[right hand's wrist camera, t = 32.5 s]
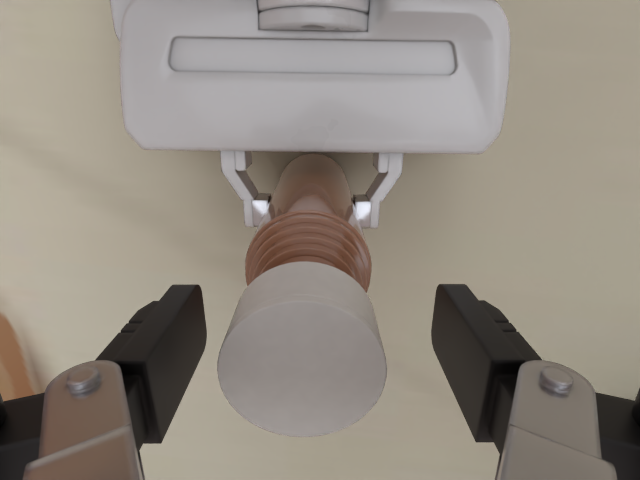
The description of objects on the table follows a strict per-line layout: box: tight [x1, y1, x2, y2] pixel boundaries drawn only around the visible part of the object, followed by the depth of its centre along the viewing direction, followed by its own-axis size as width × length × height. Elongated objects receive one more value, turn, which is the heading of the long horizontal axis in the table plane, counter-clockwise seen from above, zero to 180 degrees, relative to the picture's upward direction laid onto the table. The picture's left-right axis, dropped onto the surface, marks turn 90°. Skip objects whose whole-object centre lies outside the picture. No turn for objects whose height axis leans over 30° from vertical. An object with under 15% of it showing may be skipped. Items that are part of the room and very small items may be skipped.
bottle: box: [245, 153, 371, 293], centre depth 20 cm, size 5×5×20 cm
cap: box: [217, 262, 387, 437], centre depth 11 cm, size 4×4×2 cm
